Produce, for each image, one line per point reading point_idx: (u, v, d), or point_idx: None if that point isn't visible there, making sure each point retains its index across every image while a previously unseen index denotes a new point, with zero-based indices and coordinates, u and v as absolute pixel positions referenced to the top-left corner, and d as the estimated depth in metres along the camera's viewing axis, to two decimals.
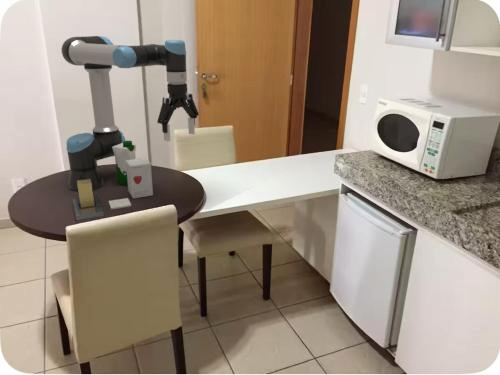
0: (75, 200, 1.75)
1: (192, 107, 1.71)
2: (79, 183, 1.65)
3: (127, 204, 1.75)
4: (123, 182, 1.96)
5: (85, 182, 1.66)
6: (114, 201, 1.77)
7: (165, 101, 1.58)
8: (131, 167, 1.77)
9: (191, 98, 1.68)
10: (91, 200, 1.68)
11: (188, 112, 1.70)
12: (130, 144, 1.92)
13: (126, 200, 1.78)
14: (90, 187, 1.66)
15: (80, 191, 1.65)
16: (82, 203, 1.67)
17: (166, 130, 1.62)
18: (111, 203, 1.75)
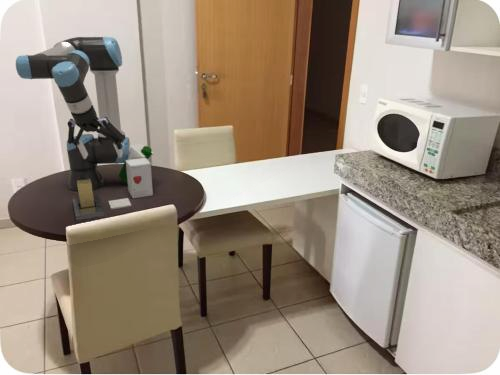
0: (75, 200, 1.75)
1: None
2: (79, 183, 1.65)
3: (127, 204, 1.75)
4: (125, 179, 1.95)
5: (85, 182, 1.66)
6: (114, 201, 1.77)
7: None
8: (131, 167, 1.77)
9: (105, 125, 1.45)
10: (91, 200, 1.68)
11: None
12: (149, 153, 1.89)
13: (126, 200, 1.78)
14: (90, 187, 1.66)
15: (80, 191, 1.65)
16: (82, 203, 1.67)
17: (78, 149, 1.54)
18: (111, 203, 1.75)
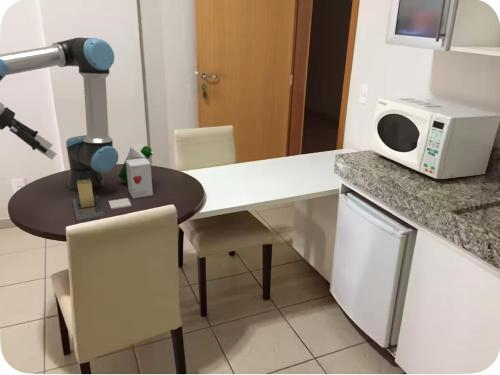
0: (75, 200, 1.75)
1: None
2: (79, 183, 1.65)
3: (127, 204, 1.75)
4: (125, 179, 1.95)
5: (85, 182, 1.66)
6: (114, 201, 1.77)
7: None
8: (131, 167, 1.77)
9: None
10: (91, 200, 1.68)
11: None
12: (149, 153, 1.89)
13: (126, 200, 1.78)
14: (90, 187, 1.66)
15: (80, 191, 1.65)
16: (82, 203, 1.67)
17: None
18: (111, 203, 1.75)
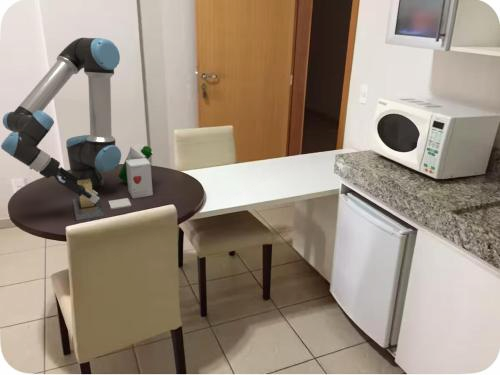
0: (75, 200, 1.75)
1: None
2: (79, 183, 1.65)
3: (127, 204, 1.75)
4: (125, 179, 1.95)
5: (85, 182, 1.66)
6: (114, 201, 1.77)
7: None
8: (131, 167, 1.77)
9: None
10: None
11: None
12: (149, 153, 1.89)
13: (126, 200, 1.78)
14: (90, 187, 1.66)
15: None
16: (82, 203, 1.67)
17: None
18: (111, 203, 1.75)
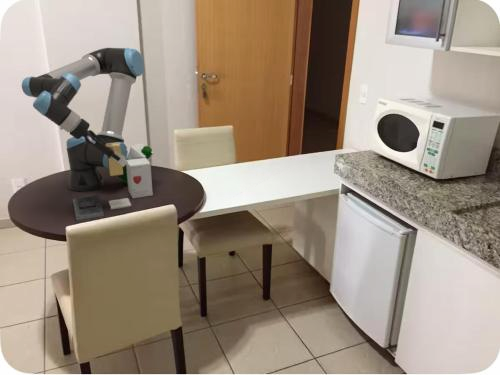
0: (75, 200, 1.75)
1: None
2: (108, 145, 1.65)
3: (127, 204, 1.75)
4: (125, 180, 1.95)
5: (114, 145, 1.66)
6: (114, 201, 1.77)
7: None
8: (131, 167, 1.77)
9: None
10: None
11: None
12: (149, 153, 1.89)
13: (126, 200, 1.78)
14: (118, 149, 1.66)
15: None
16: (111, 166, 1.67)
17: None
18: (111, 203, 1.75)
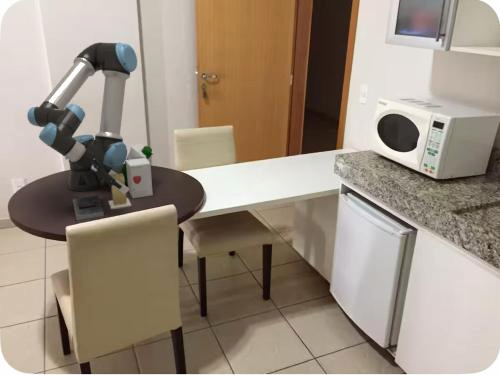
0: (75, 200, 1.75)
1: None
2: None
3: (127, 204, 1.75)
4: (125, 180, 1.95)
5: (118, 176, 1.71)
6: None
7: None
8: (131, 167, 1.77)
9: None
10: (123, 193, 1.73)
11: None
12: (149, 153, 1.89)
13: None
14: (122, 180, 1.71)
15: None
16: (115, 196, 1.72)
17: None
18: (111, 203, 1.75)
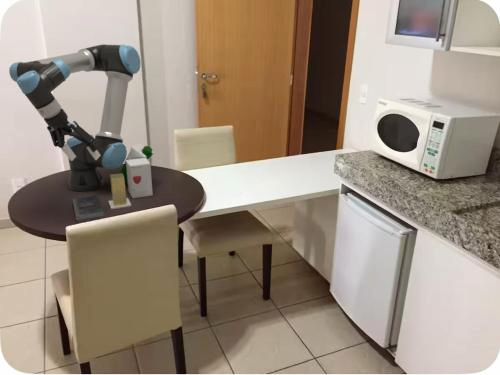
0: (75, 200, 1.75)
1: None
2: (112, 177, 1.70)
3: (127, 204, 1.75)
4: (125, 180, 1.95)
5: (118, 176, 1.71)
6: None
7: None
8: (130, 167, 1.77)
9: (73, 128, 1.53)
10: (123, 193, 1.73)
11: None
12: (150, 153, 1.89)
13: None
14: (122, 180, 1.71)
15: (113, 185, 1.70)
16: (115, 196, 1.72)
17: None
18: (111, 203, 1.75)
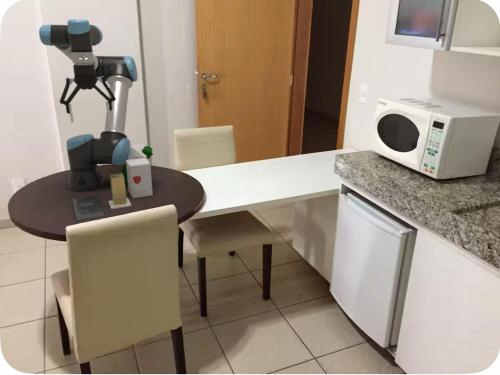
0: (75, 200, 1.75)
1: None
2: (112, 177, 1.70)
3: (127, 204, 1.75)
4: (125, 180, 1.95)
5: (118, 176, 1.71)
6: None
7: (66, 81, 1.57)
8: (130, 167, 1.77)
9: (103, 81, 1.62)
10: (123, 193, 1.73)
11: None
12: (150, 153, 1.89)
13: None
14: (122, 180, 1.71)
15: (113, 185, 1.70)
16: (115, 196, 1.72)
17: (68, 111, 1.60)
18: (111, 203, 1.75)
